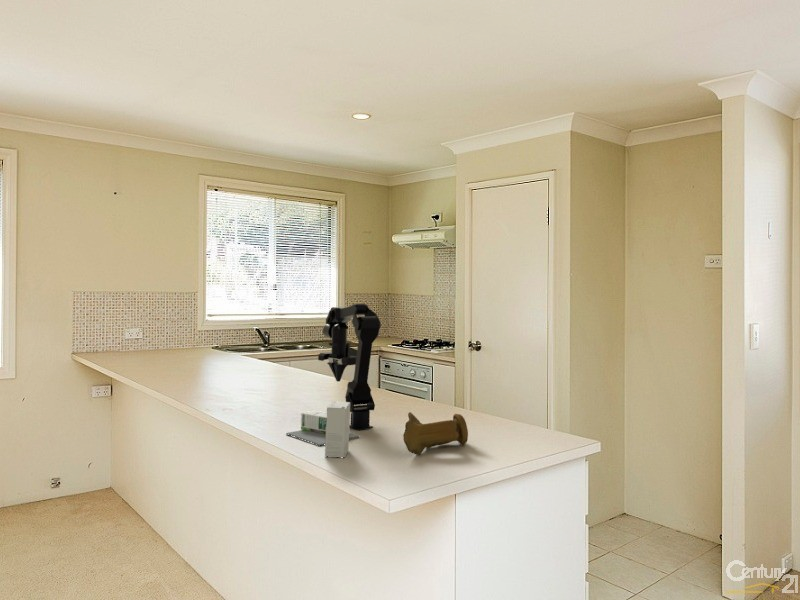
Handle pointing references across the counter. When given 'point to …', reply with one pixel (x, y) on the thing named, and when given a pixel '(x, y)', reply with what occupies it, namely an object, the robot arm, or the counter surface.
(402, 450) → the counter surface
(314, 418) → the syrup box
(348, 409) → the skincare box
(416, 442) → the brown flanged cylinder
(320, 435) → the mat
